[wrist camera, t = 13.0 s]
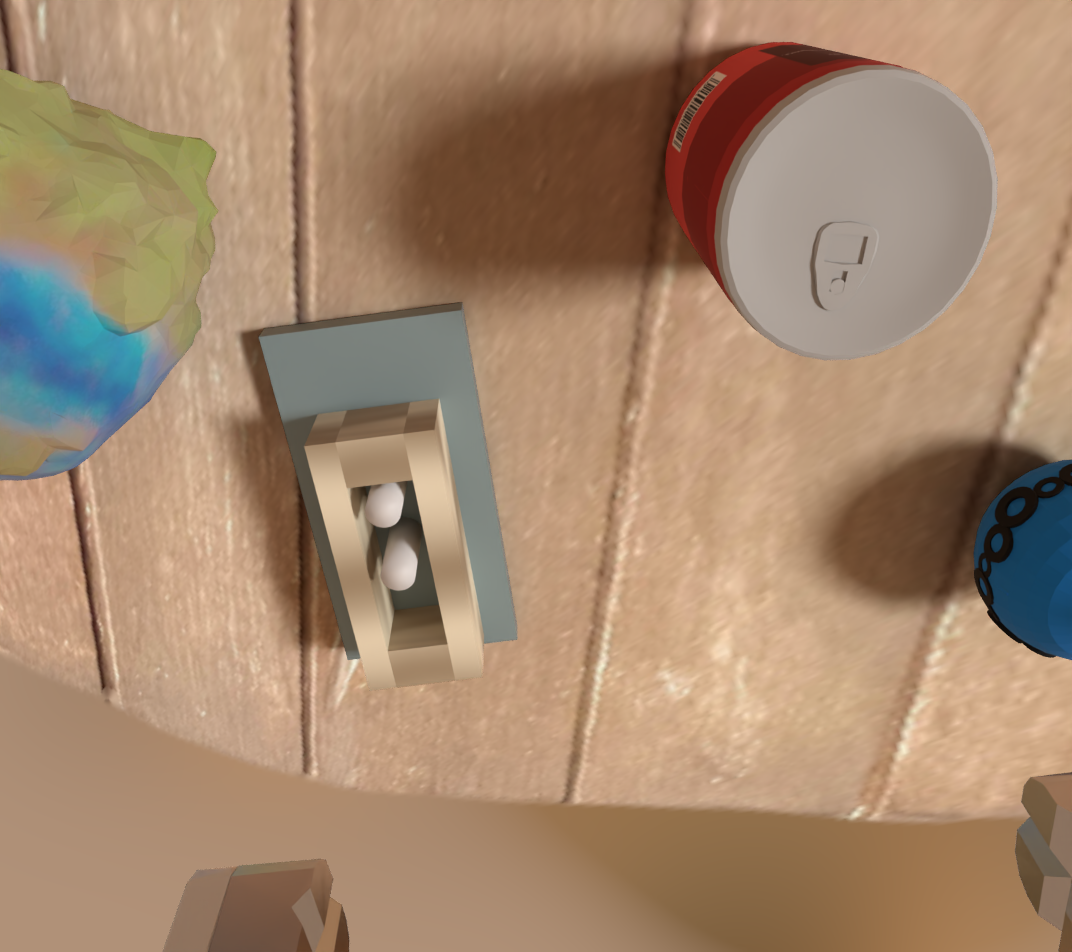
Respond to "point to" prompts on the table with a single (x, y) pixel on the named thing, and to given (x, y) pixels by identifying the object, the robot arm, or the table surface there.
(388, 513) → the boss board
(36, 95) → the decorative rock
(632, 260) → the table surface
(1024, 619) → the ornament
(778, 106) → the canned food
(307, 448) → the beige wooden rectangular frame
